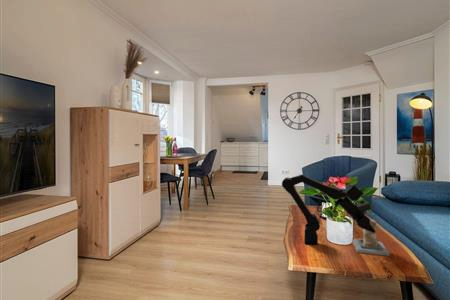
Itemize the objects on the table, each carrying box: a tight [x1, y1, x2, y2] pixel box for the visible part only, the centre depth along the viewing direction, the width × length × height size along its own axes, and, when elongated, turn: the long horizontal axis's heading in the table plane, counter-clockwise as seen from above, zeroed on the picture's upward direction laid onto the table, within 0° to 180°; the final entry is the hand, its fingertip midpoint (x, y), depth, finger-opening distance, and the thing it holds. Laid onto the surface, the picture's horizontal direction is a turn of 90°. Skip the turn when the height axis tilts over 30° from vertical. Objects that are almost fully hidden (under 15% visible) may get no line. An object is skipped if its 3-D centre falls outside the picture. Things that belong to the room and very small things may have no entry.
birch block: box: [362, 218, 377, 247], centre depth 129 cm, size 5×5×13 cm
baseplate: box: [351, 238, 390, 257], centre depth 129 cm, size 14×14×2 cm
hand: (372, 229), depth 129 cm, fingers open, 9 cm apart
